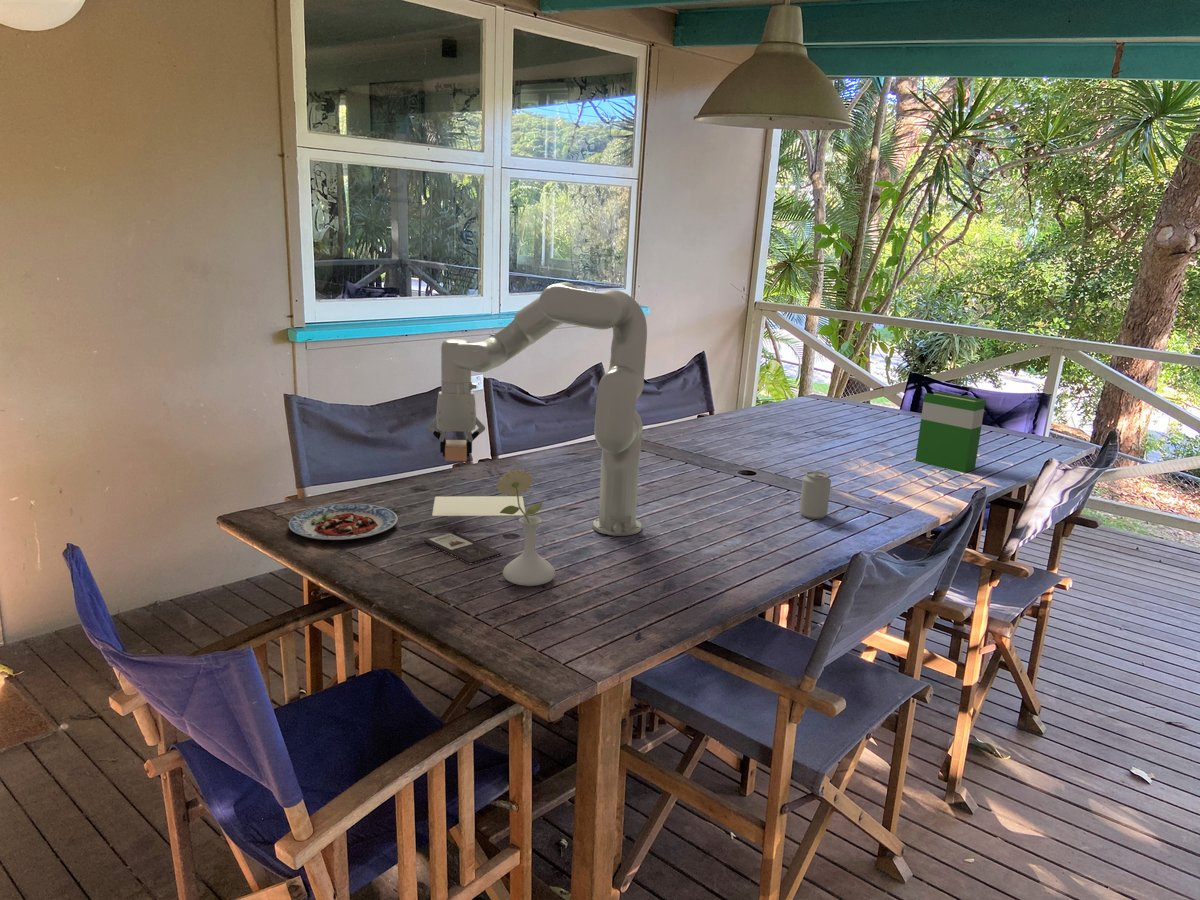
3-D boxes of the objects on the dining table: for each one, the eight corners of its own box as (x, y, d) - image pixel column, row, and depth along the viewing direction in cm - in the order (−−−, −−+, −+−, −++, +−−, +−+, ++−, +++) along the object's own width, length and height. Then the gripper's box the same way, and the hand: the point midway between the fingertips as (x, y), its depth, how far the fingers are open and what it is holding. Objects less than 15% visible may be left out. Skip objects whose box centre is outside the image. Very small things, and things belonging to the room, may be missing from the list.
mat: (525, 518, 224) (525, 515, 224) (432, 518, 221) (432, 515, 221) (522, 499, 239) (522, 496, 239) (435, 499, 236) (435, 496, 236)
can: (807, 520, 232) (811, 478, 229) (794, 511, 239) (798, 470, 235) (832, 519, 234) (836, 477, 231) (818, 510, 241) (822, 469, 237)
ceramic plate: (419, 526, 216) (419, 515, 215) (336, 555, 195) (336, 543, 194) (351, 505, 230) (350, 494, 229) (266, 530, 209) (265, 518, 208)
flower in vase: (555, 570, 191) (559, 462, 185) (554, 591, 180) (558, 477, 174) (497, 569, 191) (498, 460, 184) (492, 590, 180) (493, 476, 173)
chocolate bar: (470, 562, 192) (423, 540, 204) (470, 566, 193) (424, 544, 205) (501, 553, 199) (454, 532, 211) (501, 556, 199) (454, 535, 211)
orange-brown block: (467, 452, 230) (467, 440, 229) (466, 460, 222) (466, 447, 221) (446, 452, 229) (446, 439, 228) (445, 460, 221) (444, 447, 221)
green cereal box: (915, 461, 298) (924, 393, 292) (925, 457, 303) (935, 391, 297) (964, 473, 285) (975, 402, 279) (974, 469, 290) (985, 400, 284)
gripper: (489, 385, 226) (488, 452, 230) (423, 384, 223) (423, 451, 228) (489, 391, 219) (489, 459, 223) (421, 389, 216) (422, 459, 221)
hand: (456, 454), depth 226 cm, fingers closed on orange-brown block, 5 cm apart
